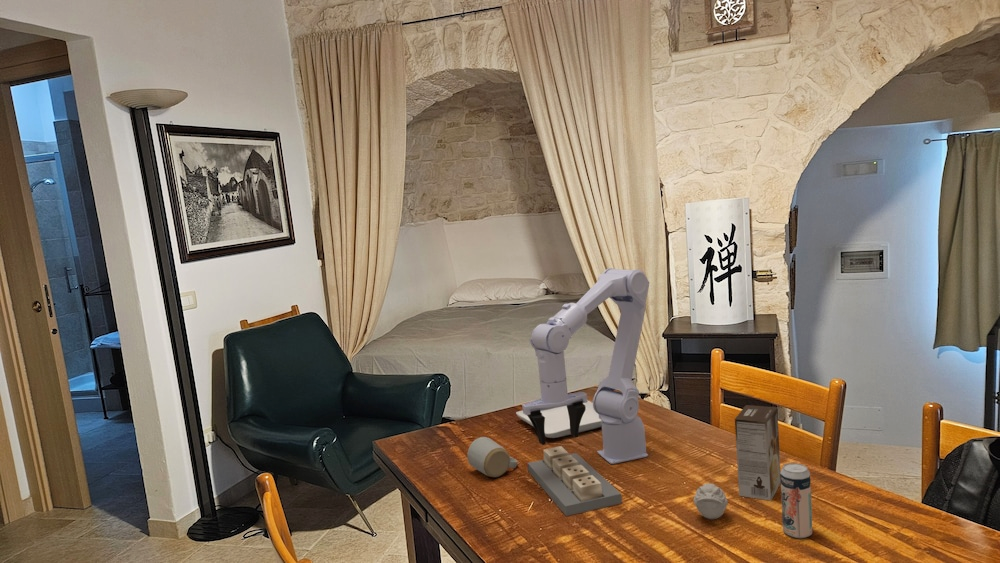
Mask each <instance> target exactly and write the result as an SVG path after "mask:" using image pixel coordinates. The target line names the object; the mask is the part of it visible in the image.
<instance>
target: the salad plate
mask: <svg viewBox="0 0 1000 563" xmlns="http://www.w3.org/2000/svg"><path fill="white" fill-rule="evenodd" d="M587 401H588V402H586V403H583V404H584V405H585V407H586V410H585V412H584V414H583V416H582V419H581V422H580V426H579V431H578V434H579V433H583V432H588V431H590V430H592V431H593V430H596V429H599V428H602V424H601V419H600V418H599V414H598V413H596V412H595V410H594V408H593V401H591V400H588V399H587ZM540 412H541V413H542V416H544V417H545V424H544V431H545V438H549V439H555V438H557V439H558V438H561V437H562V438H563V437H566V436H572V435H571V432H570V420H569V414H568V409H567V406H562V407H558V408H553V409H548V410H544V411H540ZM515 414H516V416H517V417H518V418H520V419H521V420H522V421H524V422H525V423H527V424H529V425H530V426H532V427H533V428H534V426H533V424H532V422H531V421H530V419H529V417H528V416H527V415H525V414H524V413H523V410H519V411H516V412H515Z"/></svg>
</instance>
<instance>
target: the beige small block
mask: <svg viewBox="0 0 1000 563" xmlns="http://www.w3.org/2000/svg"><path fill="white" fill-rule="evenodd" d="M562 476H563V483H564V484H565V486H566V487H567V488H568V489H569V490H572V489H573V480H572V479H576V478H581V477H585V476H590V475H589V471H587V470H586V469H585V468H584V467H583V466H582V465H577V466H572V467H567V468H563V469H562Z"/></svg>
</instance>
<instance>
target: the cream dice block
mask: <svg viewBox="0 0 1000 563" xmlns="http://www.w3.org/2000/svg"><path fill="white" fill-rule="evenodd" d="M552 463H553V473H554V474H555V475H556V476H557V477H558V478H559V479H562V478H563V476H562V469H563V468H567V467H572V466H577V465H578V461H577V460H576V459H575V458H573V457H572V456H571V455H569V454H568V456H564V457H559V458H554V459H552Z"/></svg>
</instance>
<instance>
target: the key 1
mask: <svg viewBox="0 0 1000 563" xmlns="http://www.w3.org/2000/svg"><path fill="white" fill-rule="evenodd" d="M542 451H543V460H544V463H545V464H546V465H547V466H548V467H549V469H552V468H553V463H552V459H554V458H559V457H564V456H568V455H569V452H568V451H567V450H566V449H565V448H564V447H563V446H562V445H561V446H555V447H549V448H546V449H543V450H542Z"/></svg>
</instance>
